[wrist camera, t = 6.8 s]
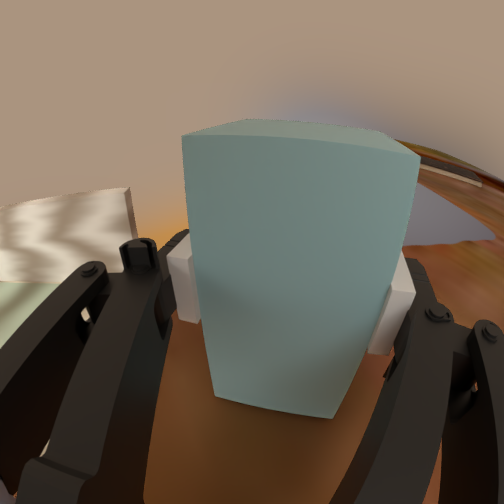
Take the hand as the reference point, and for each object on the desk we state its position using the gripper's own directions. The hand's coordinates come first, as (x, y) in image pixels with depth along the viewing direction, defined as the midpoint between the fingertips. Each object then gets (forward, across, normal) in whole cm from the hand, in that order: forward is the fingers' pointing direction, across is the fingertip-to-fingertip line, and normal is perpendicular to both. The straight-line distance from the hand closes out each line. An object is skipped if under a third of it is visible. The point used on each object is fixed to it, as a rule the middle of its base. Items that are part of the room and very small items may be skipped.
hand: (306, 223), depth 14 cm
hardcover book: (+72, +39, -9) cm, 82 cm away
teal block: (-3, 0, -7) cm, 8 cm away
